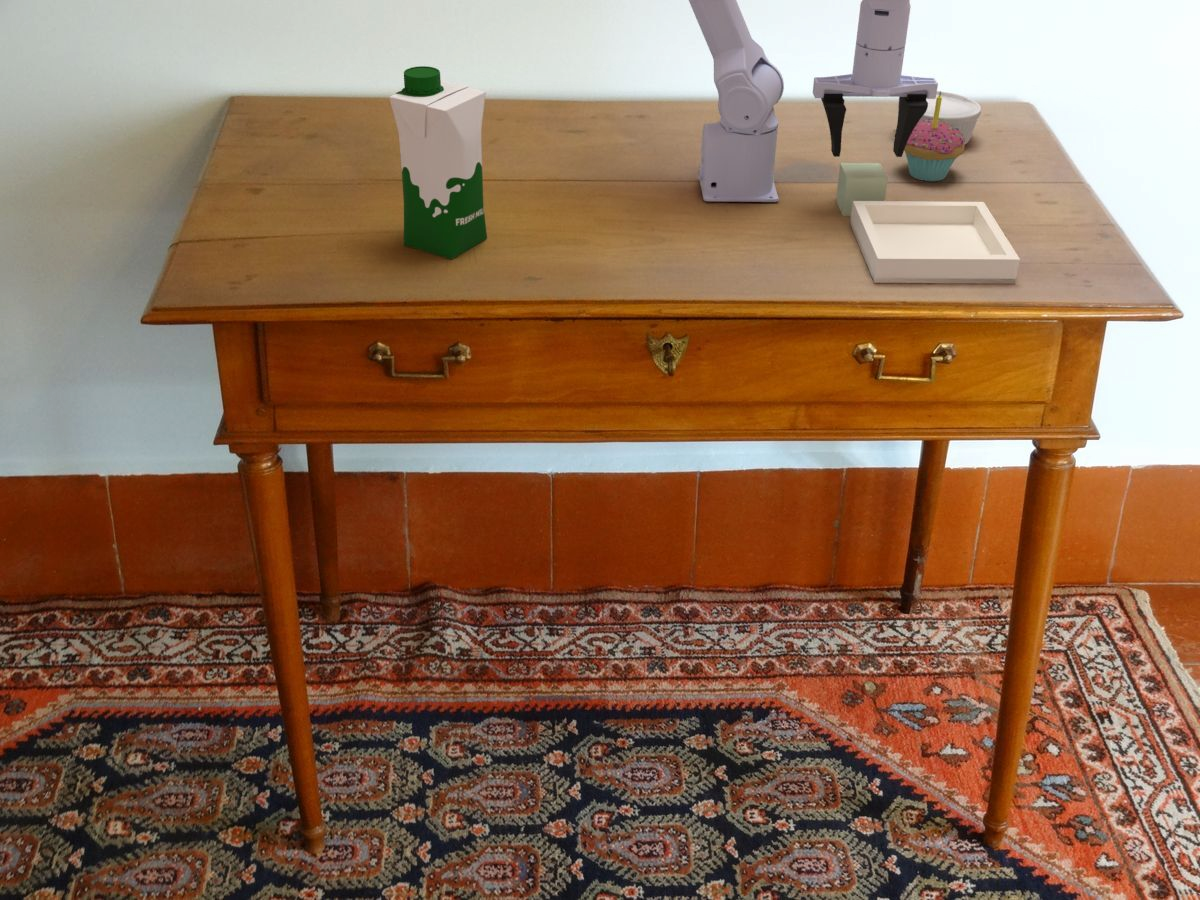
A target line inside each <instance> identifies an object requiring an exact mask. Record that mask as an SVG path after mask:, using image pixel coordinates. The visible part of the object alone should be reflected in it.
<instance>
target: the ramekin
mask: <svg viewBox="0 0 1200 900" xmlns="http://www.w3.org/2000/svg"><path fill="white" fill-rule="evenodd" d="M940 91H941V90H939V91H938V90H937V94H936V99H937V96H939V92H940ZM941 96H942V101H941V107H940V113H939V118H938V120H939V121H943V122H946V123H948V125H950V126H951V125H952V126H953V127H955V128H956V129H958V131H960V133H961V134H963V137H964V138H965V142H964V146H965V145H966V144H968V143H969V141H970V140H971V137H972V135H973V132H974V129H975V127H976V124H977V121H978V119H979V118H980V116H981V113H982V107H981V105H980V104H979V103H978V102H977V101H975V100H974V99H972V98H969V97H966V96H964V95H961V94H957V93H954V92H953V93H952V92H947V91H941ZM936 99H927V98H926V101H927V102H928V108H927V110H926V113H925V114H924V115H923V116H922V117H921V119H920V120H919V122H920V121H921V120H928V119H930V120H932V119H933V117H934V111H935V105H936ZM897 109H898V110H899V103H898V105H897Z"/></svg>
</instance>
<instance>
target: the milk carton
mask: <svg viewBox="0 0 1200 900" xmlns="http://www.w3.org/2000/svg"><path fill="white" fill-rule="evenodd" d="M403 82H404V83H403V84H404V87H403V88H402V89H401V90H400V91H396V93H394V94H392V95H390V96H389V102H390V104H391V105H390V106H391V108H392V112H393V116H394V120H395V124H396V127H397V131H398V132H397V133H398V141H399V151H400V153H399V154H400V165H401V166H400V167H401V182H402V196H403V245H404V246H406V247H408V248H412V249H416V250H419V251H423V252H426V253H430V254H433V255H436V256H440V257H442V258H446V259H449V260H453V259H455V258H457V257H458V256H460V255H461V254H463V253H465V252H466V251H469V250H470V249H472V248H473V247H475V246H477V245H479V244H480V243H481V242H484V241H485V240H486V239H488V235H487V234H488V233H487V224H486V217H485V208H484V207H485V206H484V205H485V204H484V184H483V183H484V182H483V181H484V180H483V155H482V151H483V150H482V148H483V147H482V129H483V128H482V125H483V119H484V118H483V117H484V110H485V102H486V101H485V100H486V94H487V92H486V91H484V90H481V89H475V88H471V87H469V86H468V85H465V84H458V83H454V82H449V81H445V80H441V71H440V70H439V68H436V67H433V66H421V65H420V66H413V67H412V66H411V67H409V68H407V69H405V70H404V72H403Z"/></svg>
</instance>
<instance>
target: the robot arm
mask: <svg viewBox="0 0 1200 900" xmlns="http://www.w3.org/2000/svg"><path fill="white" fill-rule="evenodd" d="M688 2H689V4H690V7H691V9H692V11H693V13H694V16H695V18H696V21H697V24H698V26H699V28H700V31H701V33H702V36H703V38H704V40H705V42H706V44H707V48H708V50H709V52H710V54H711V56H712V59H713V82H714V85H715V87H716V90H717V94H718V99H717V100H718V101H717V107H718V108H717V109H718V113H719V116H720V120H718V121H714V122H706V123H703V126H702V132H701V133H702V135H701V149H700V166H699V167H698V180H699V184H700V189H701V195H702V199H703V201H704V202H726V203H727V202H731V203H733V202H734V203H735V202H737V203H738V202H741V203H742V202H743V203H744V202H746V203H752V202H753V203H776V202H778V201H779V199H780V198H779V195H778V192H777V189H776V186H775V185H776V184H775V182H774V175H775V173H774V172H775V163H776V161H775V160H776V153H777V150H776V149H777V140H778V131H779V119H778V117H777V115H776V113H775V112H776V111H775V109H774V108H775V107H774V106H776V105H777V104H778V103H779V101H780V99H781V98H782V96H783V94H784V89H785V85H784V84H785V82H784V78H783V76H782V75H783V74H781V72H780V70H779V69H778V68H777V66H775V65H774V64H772V62H771V61H770V60H769V59H768V57H767V55H766V54H765V51H764V49H763V47H762V46H761V45H760V44H758V43H757V42H756V41H755V40H754V39H753V38H752V35H751V33H750V31H749V28H748V26H747V22H746V20H745V18H744V16H743V13H742V10H741V8H740V6H739V3H738V1H737V0H688ZM910 14H911V2H910V0H861V1H860V5H859V15H858V24H857V32H856V41H855V48H854V57H853V64H852V73H851V74H850V73H849V74H841V75H834V76H833V75H832V76H822V77H821V76H820V77H816V76H815V77H813V83H812V84H813V86H812V94H813V97H814V99H820V100H821V102H822V106H823V109H824V112H825V115H826V118H827V119H826V120H827V123H828V127H829V128H828V129H829V132H830V133H829V134H830V141H831V142H830V145H831V146H830V148H831V154H832V155H833V157H834V158H835V157H836V158H837V157H841V151H842V137H843V127H844V121H845V117H846V113H847V108H846V105H845V99H844V97H853V98H855V97H856V98H857V97H863V98H864V97H870V98H871V97H873V98H877V97H878V98H879V97H880V98H887V97H889V98H890V97H891V98H893V97H894V98H895V97H896V98H898V104H899V109H898V112H897V125H896V130H895V135H894V141H893V149H892V150H893V152H894V155H895V157H896V158H902V157H903V154H904V153H905V151H904V149H905V146H906V144H907V141H908V139H909V137H910V135H911V133H912V131H913V130H914V128H915V126H916V125H917V123H918V122H919V120H920V119H921V117H922V116H923V115H924V114H925V113H926V110H927V108H928V102H927V101H926V98H927V99H936V94H937V91H938V86H939V83H938V81H937V80H936V78H934V77H920V76H913V75H912V76H911V75H904V74H902V71H903V64H904V57H905V51H906V44H907V43H906V42H907V35H908V28H909V27H908V26H909V22H910V21H909V20H910Z"/></svg>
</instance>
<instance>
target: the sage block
mask: <svg viewBox="0 0 1200 900" xmlns="http://www.w3.org/2000/svg"><path fill="white" fill-rule="evenodd" d="M837 178H838V179H837V187H836V195H835V196H836V197H835V201H836V203H837V206H838V208H839V211H840V214H841V215H842V217H843V216H844V217H845V216H848V217H851V212H852V204H853V201H886V194H887V193H886V192H887V185H888V179H889V178H888V175H886V173H885V170H884V168H883V167H882V165H881V162H875V163H874V162H873V163H872V162H840V163H839V171H838V177H837Z"/></svg>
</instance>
